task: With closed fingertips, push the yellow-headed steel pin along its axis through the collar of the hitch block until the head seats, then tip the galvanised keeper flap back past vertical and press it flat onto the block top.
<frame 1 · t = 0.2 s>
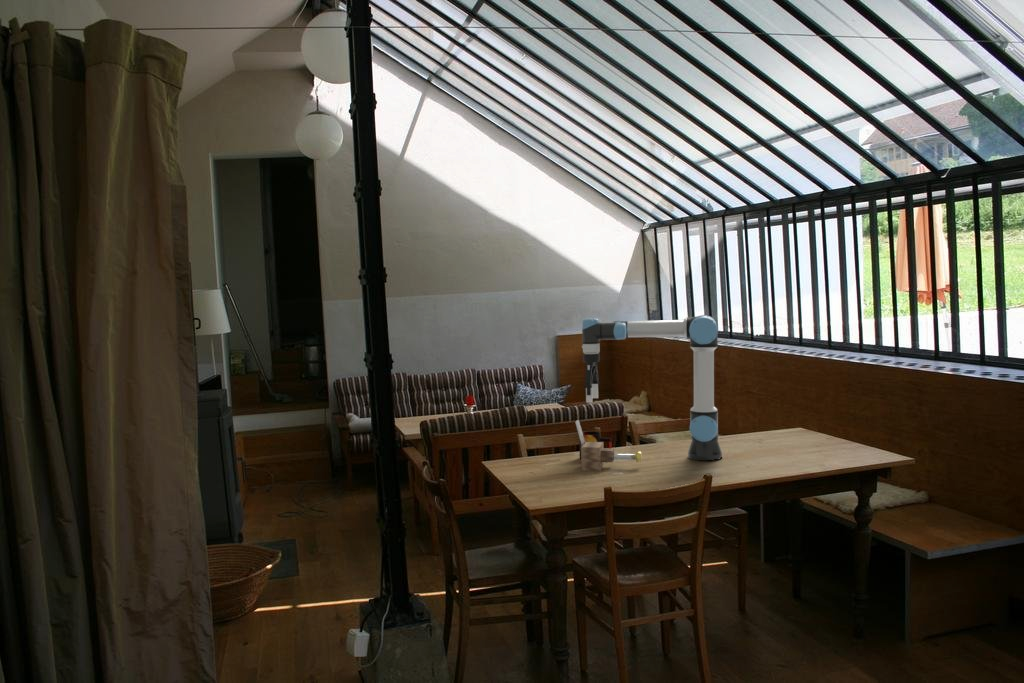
hand: (592, 400, 377), 28 cm above the table, fingers open, 13 cm apart
pin: (617, 456, 363), point 5 cm above the table, slide at 0.0 cm
hitch block: (592, 467, 366), on the table
keeper flap: (580, 431, 367), point 16 cm above the table, hinge at 105.0°
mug: (594, 459, 384), on the table
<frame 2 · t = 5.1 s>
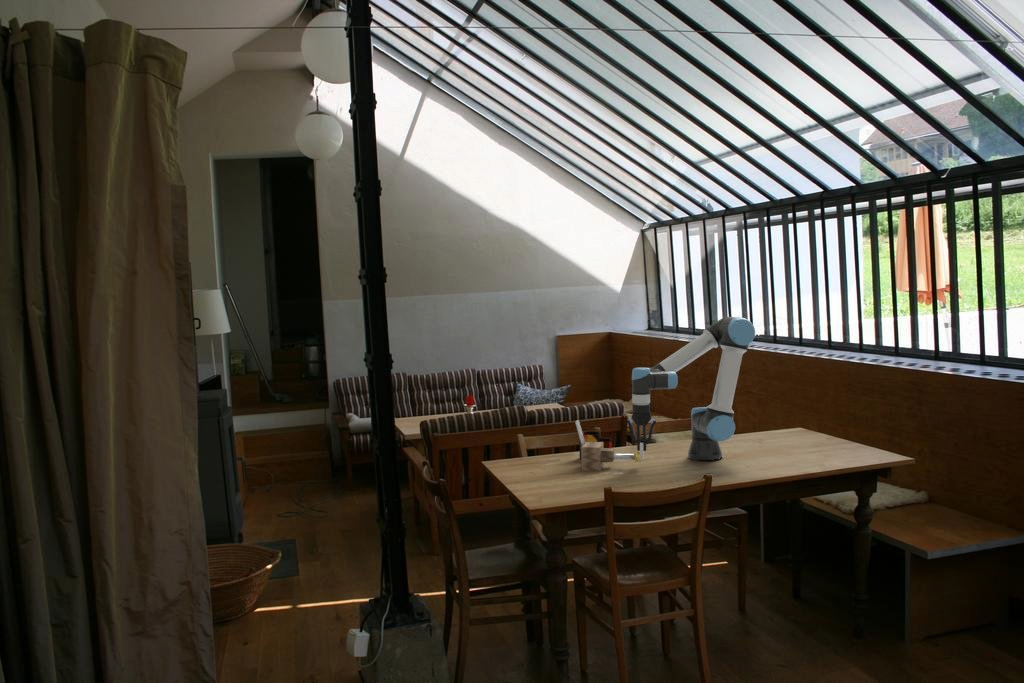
hand: (641, 458, 361), 5 cm above the table, fingers closed
pin: (617, 456, 363), point 5 cm above the table, slide at 0.4 cm, touching gripper
everything else where it was.
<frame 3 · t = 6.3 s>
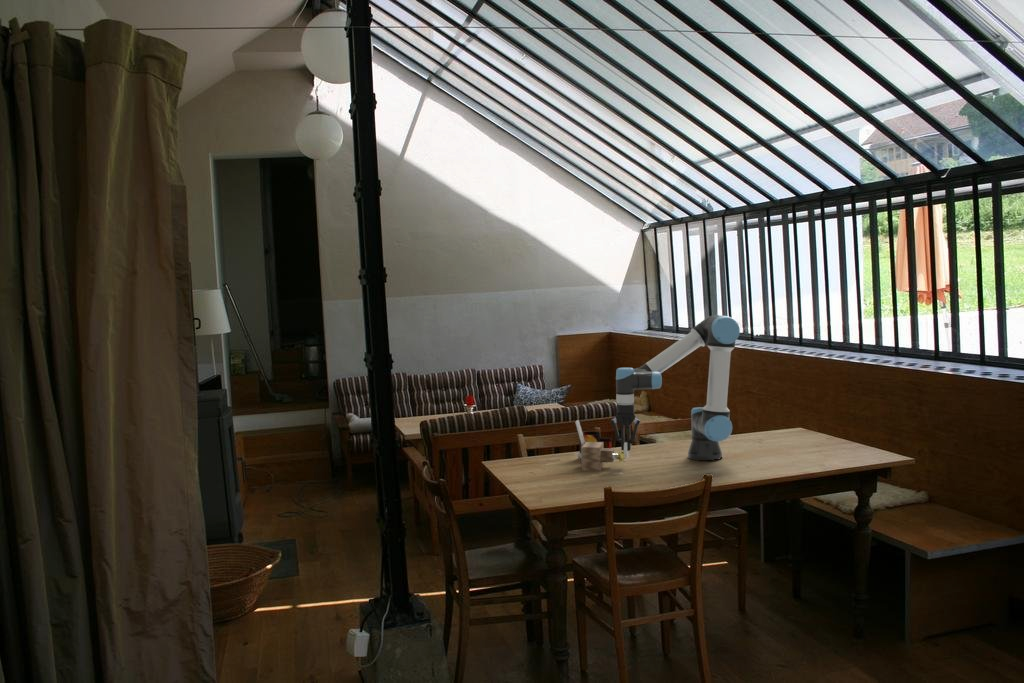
hand: (626, 457, 362), 5 cm above the table, fingers closed
pin: (601, 456, 365), point 5 cm above the table, slide at 7.2 cm, touching gripper
everything else where it was.
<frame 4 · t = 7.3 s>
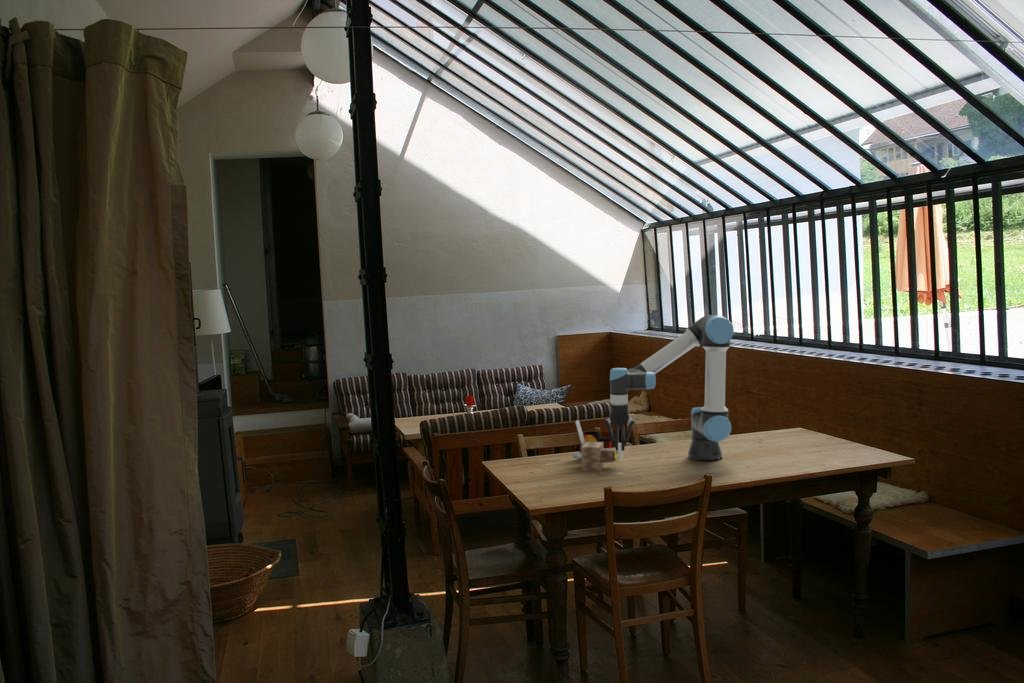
hand: (620, 458, 363), 4 cm above the table, fingers closed
pin: (595, 456, 366), point 5 cm above the table, slide at 9.7 cm, touching gripper
everything else where it was.
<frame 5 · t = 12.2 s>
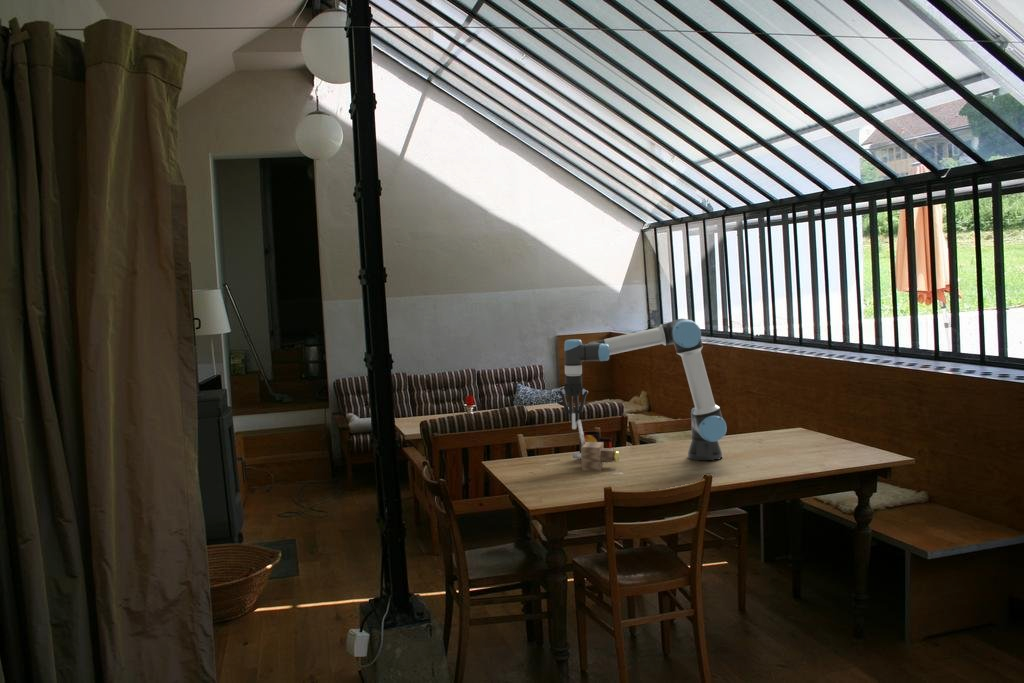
hand: (574, 428, 367), 17 cm above the table, fingers closed
pin: (595, 456, 366), point 5 cm above the table, slide at 9.7 cm
keeper flap: (581, 431, 366), point 16 cm above the table, hinge at 100.0°, touching gripper
everything else where it was.
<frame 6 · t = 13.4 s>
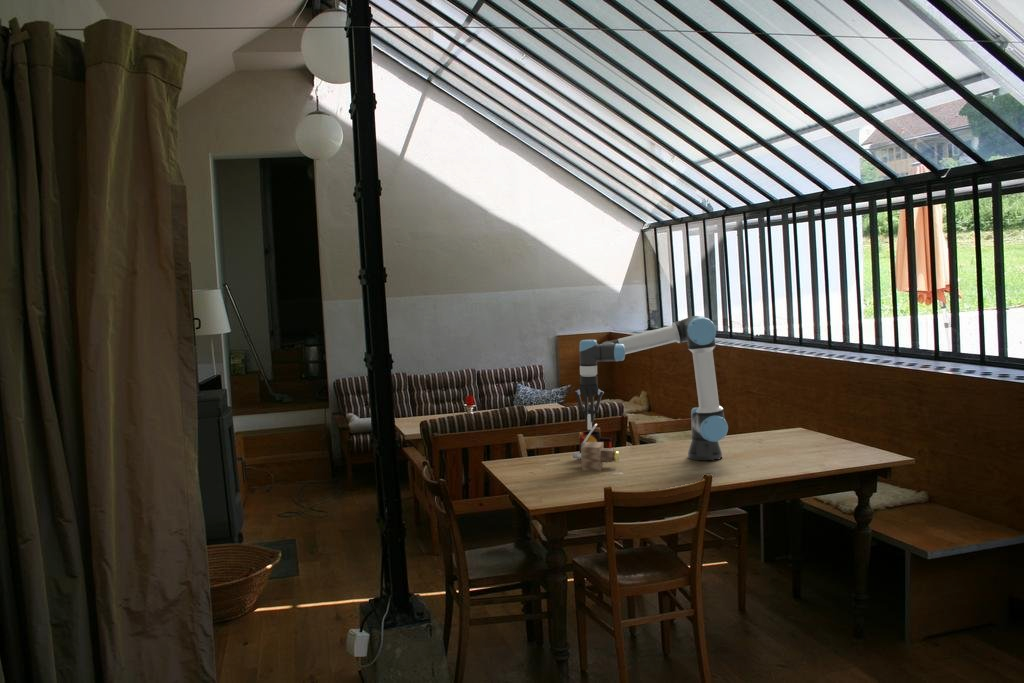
hand: (589, 429, 365), 17 cm above the table, fingers closed
keeper flap: (589, 433, 366), point 15 cm above the table, hinge at 55.6°, touching gripper
everything else where it was.
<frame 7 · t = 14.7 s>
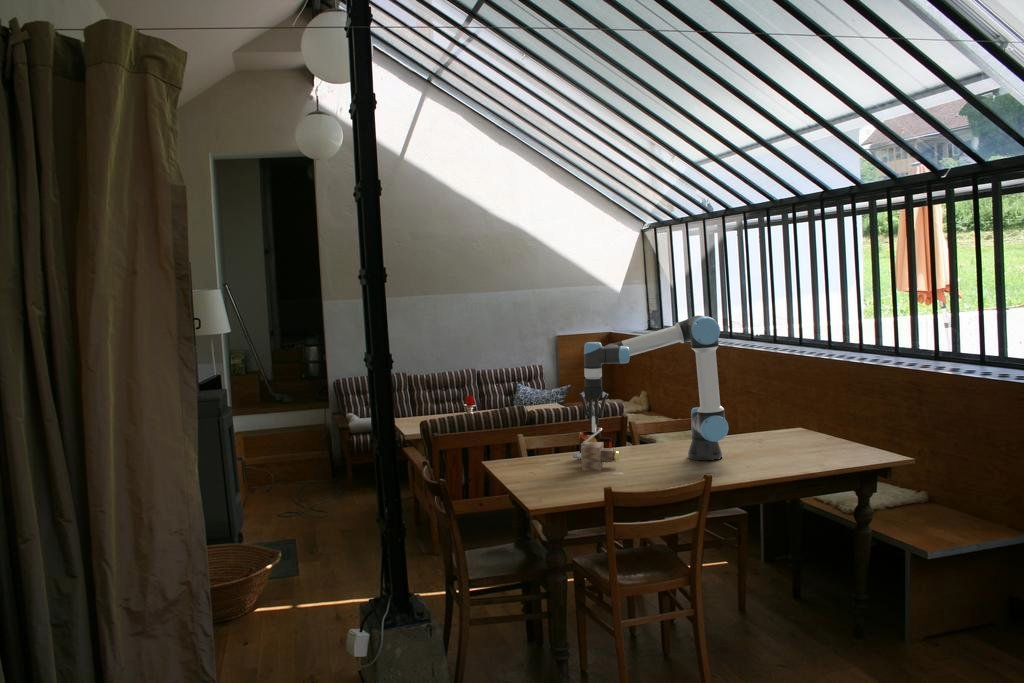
hand: (594, 431, 365), 16 cm above the table, fingers closed
keeper flap: (592, 436, 365), point 14 cm above the table, hinge at 38.5°, touching gripper
everything else where it was.
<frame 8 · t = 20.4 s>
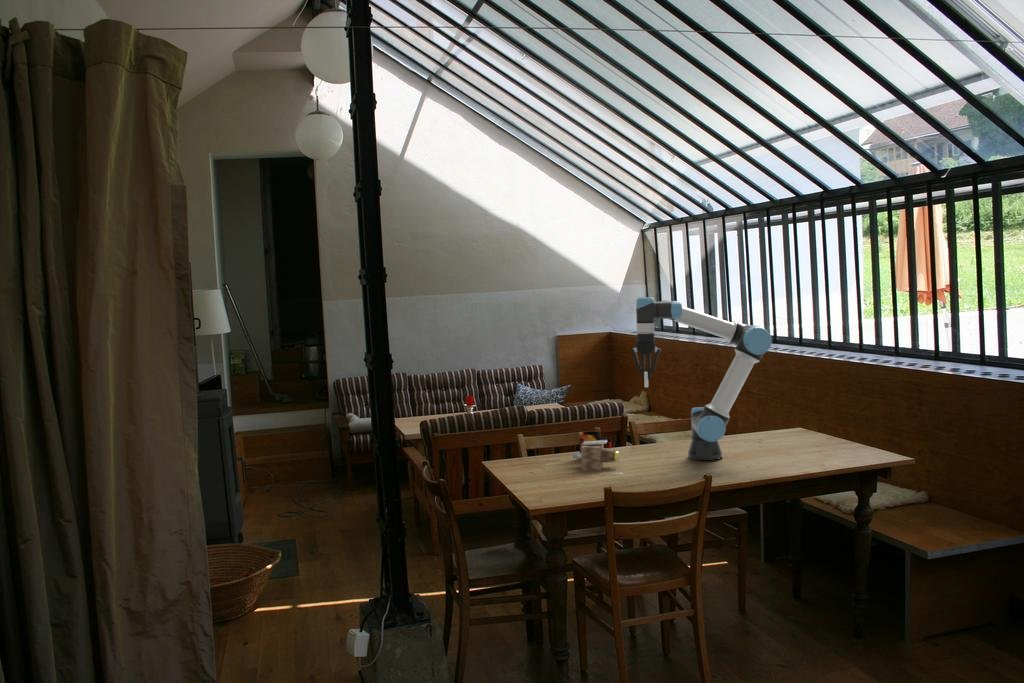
hand: (646, 386, 366), 34 cm above the table, fingers closed
keeper flap: (595, 442, 365), point 11 cm above the table, hinge at 5.5°
everything else where it was.
at the end: pin slide at 9.7 cm; keeper flap at +6° (first picture: +105°) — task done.
